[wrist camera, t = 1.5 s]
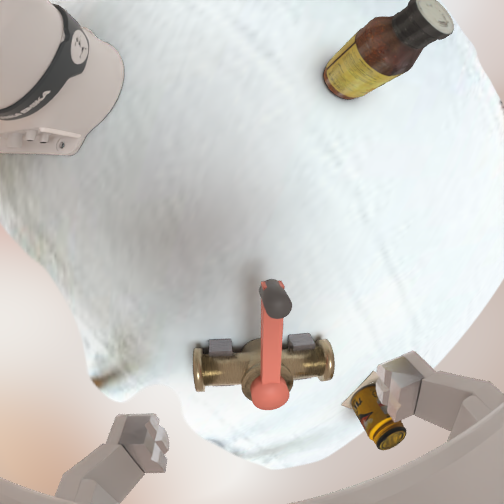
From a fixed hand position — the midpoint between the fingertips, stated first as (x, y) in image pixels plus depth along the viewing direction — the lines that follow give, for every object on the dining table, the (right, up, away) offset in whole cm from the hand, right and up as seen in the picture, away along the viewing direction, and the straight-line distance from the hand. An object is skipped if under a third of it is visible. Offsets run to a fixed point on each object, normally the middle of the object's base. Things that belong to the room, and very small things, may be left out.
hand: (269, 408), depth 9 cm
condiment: (+20, -20, +36) cm, 46 cm away
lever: (+1, -5, +22) cm, 23 cm away
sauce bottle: (+11, +28, +23) cm, 38 cm away
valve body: (+1, -9, +31) cm, 32 cm away
